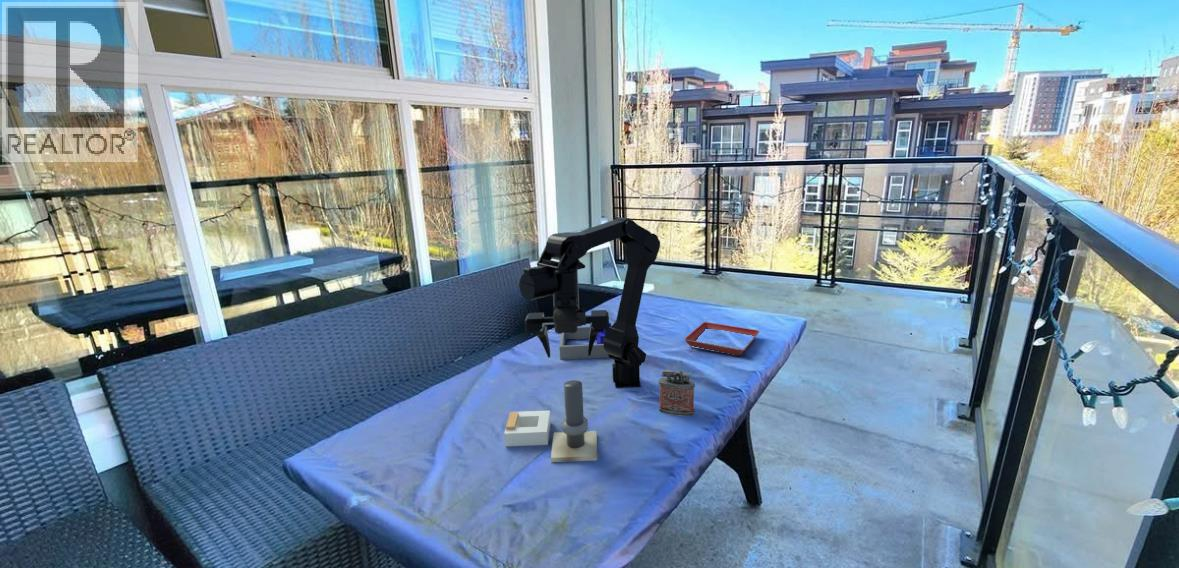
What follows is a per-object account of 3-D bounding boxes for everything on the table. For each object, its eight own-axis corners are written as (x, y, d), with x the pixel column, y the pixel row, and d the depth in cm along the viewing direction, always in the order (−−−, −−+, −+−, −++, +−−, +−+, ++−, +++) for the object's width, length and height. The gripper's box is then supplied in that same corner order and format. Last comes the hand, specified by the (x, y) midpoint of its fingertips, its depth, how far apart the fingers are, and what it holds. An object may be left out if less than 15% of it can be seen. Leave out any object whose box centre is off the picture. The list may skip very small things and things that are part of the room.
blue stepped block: (597, 340, 159) (597, 322, 158) (611, 340, 159) (611, 322, 158) (596, 355, 148) (595, 336, 146) (611, 355, 148) (610, 336, 146)
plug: (583, 433, 104) (580, 376, 101) (592, 446, 100) (590, 387, 96) (559, 439, 103) (556, 381, 99) (567, 452, 98) (564, 392, 95)
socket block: (550, 422, 111) (549, 407, 110) (547, 444, 103) (546, 428, 102) (511, 424, 111) (510, 409, 110) (505, 446, 103) (503, 430, 102)
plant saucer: (759, 339, 155) (760, 329, 154) (743, 360, 140) (744, 349, 139) (703, 331, 164) (703, 321, 163) (683, 349, 150) (683, 339, 149)
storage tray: (613, 337, 161) (613, 325, 160) (616, 357, 145) (616, 344, 144) (562, 339, 161) (562, 327, 160) (560, 359, 145) (559, 346, 144)
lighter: (695, 410, 114) (695, 370, 111) (693, 417, 111) (693, 376, 108) (660, 405, 116) (660, 366, 114) (657, 412, 113) (657, 372, 111)
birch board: (596, 435, 105) (596, 430, 105) (597, 460, 97) (597, 455, 96) (554, 436, 105) (553, 432, 105) (551, 462, 97) (550, 457, 96)
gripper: (518, 302, 103) (524, 372, 106) (609, 299, 102) (611, 369, 106) (525, 288, 113) (530, 352, 117) (607, 285, 113) (609, 349, 117)
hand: (569, 356), depth 114 cm, fingers open, 9 cm apart
